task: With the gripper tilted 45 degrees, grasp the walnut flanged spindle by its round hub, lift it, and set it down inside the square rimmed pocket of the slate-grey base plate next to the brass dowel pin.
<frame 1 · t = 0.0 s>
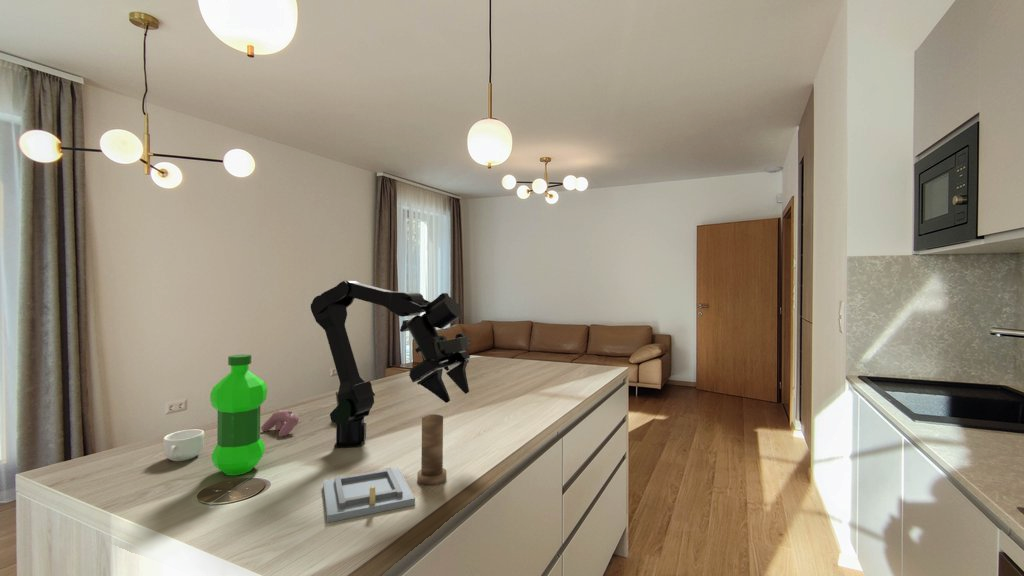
hand: (458, 397, 103), 15 cm above the counter, tool tilted 35°, fingers open, 9 cm apart
teacup: (181, 460, 103), on the counter
plastic bottle: (238, 471, 97), on the counter
base plate: (367, 495, 86), on the counter
flanged spindle: (431, 479, 93), on the counter
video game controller: (280, 433, 122), on the counter
cup: (348, 417, 137), on the counter
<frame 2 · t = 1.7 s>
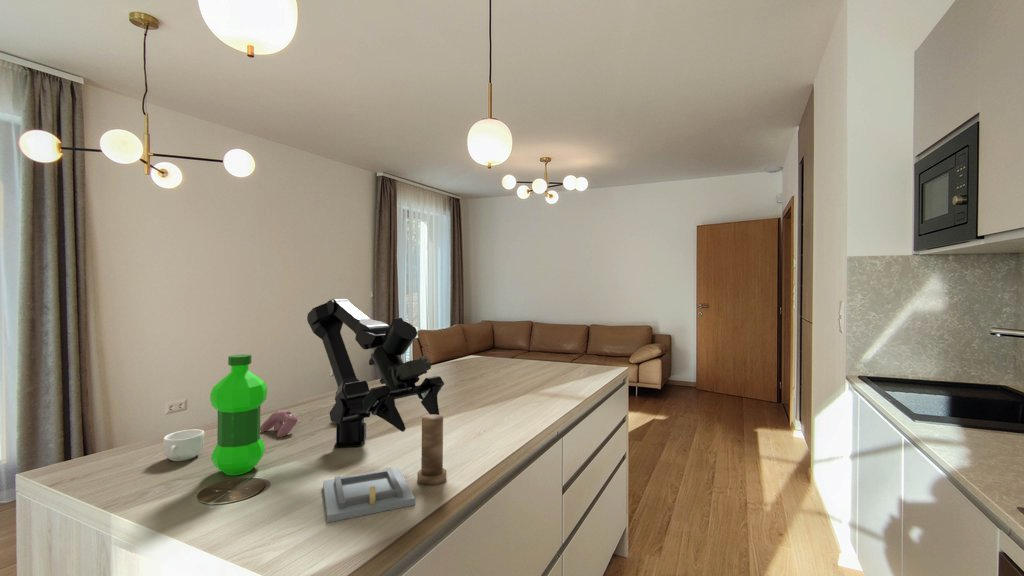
hand: (421, 425, 95), 11 cm above the counter, tool tilted 45°, fingers open, 9 cm apart
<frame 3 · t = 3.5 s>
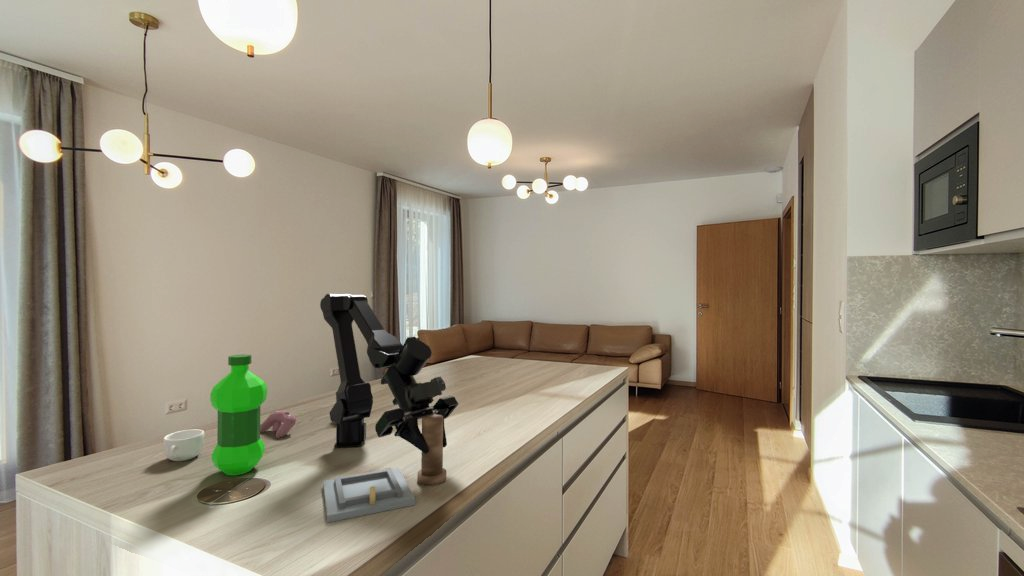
hand: (436, 449, 92), 7 cm above the counter, tool tilted 45°, fingers closed on flanged spindle, 4 cm apart
flanged spindle: (431, 479, 93), on the counter, touching gripper
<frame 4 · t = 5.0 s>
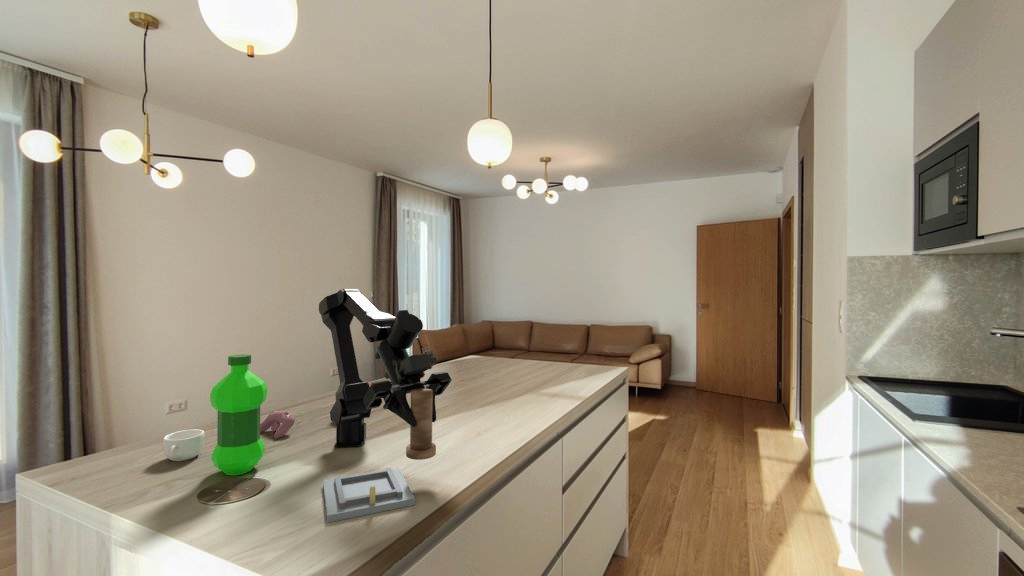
hand: (425, 423, 90), 13 cm above the counter, tool tilted 45°, fingers closed on flanged spindle, 4 cm apart
flanged spindle: (421, 454, 91), point 6 cm above the counter, touching gripper
when the fingers open (10 cm above the counter, at t = 6.8 s): flanged spindle drops 2 cm, resting on base plate.
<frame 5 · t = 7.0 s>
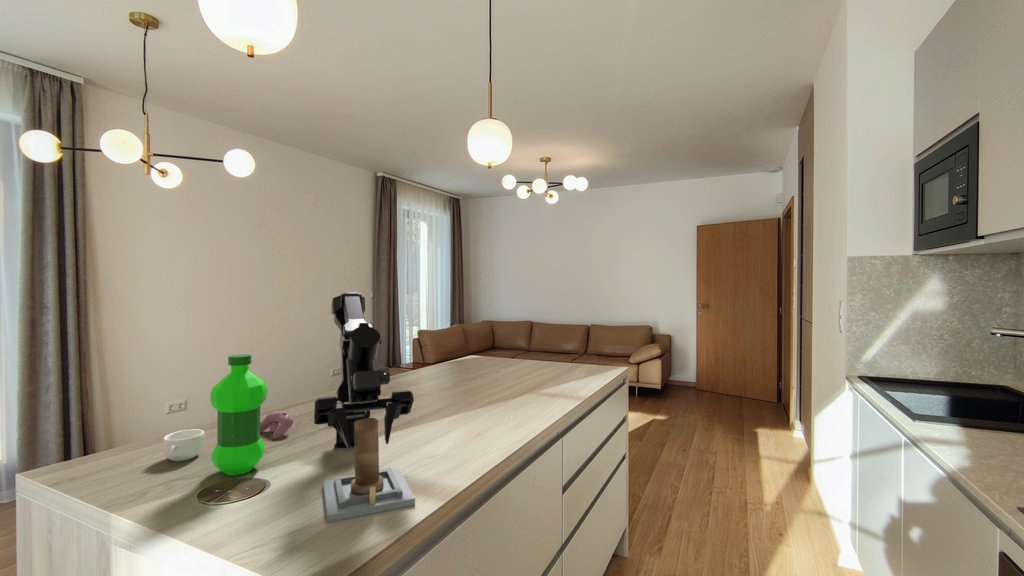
hand: (368, 445, 84), 10 cm above the counter, tool tilted 45°, fingers open, 7 cm apart
flanged spindle: (367, 488, 86), point 1 cm above the counter, touching base plate
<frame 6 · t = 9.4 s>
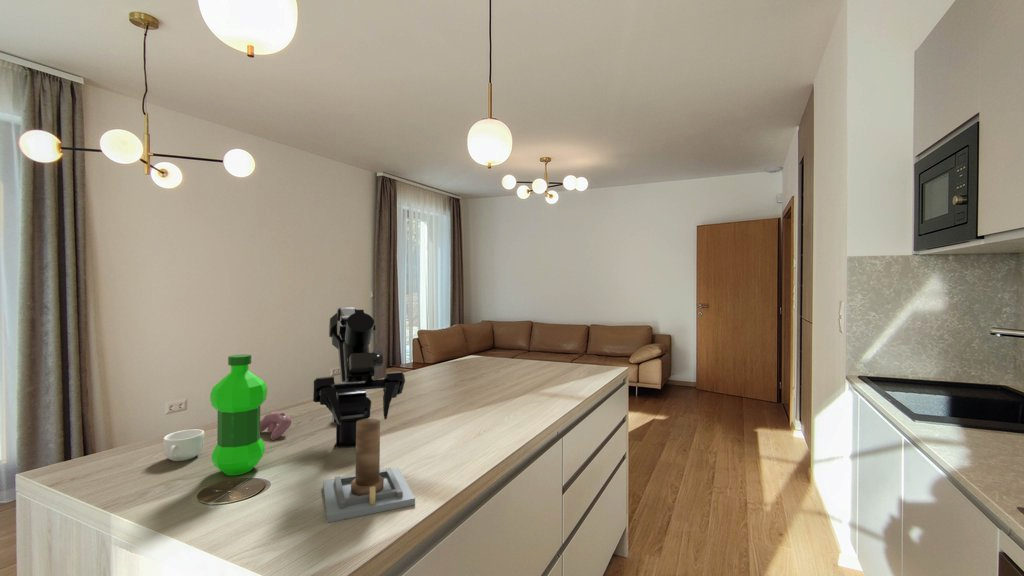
hand: (363, 421, 92), 12 cm above the counter, tool tilted 45°, fingers open, 9 cm apart
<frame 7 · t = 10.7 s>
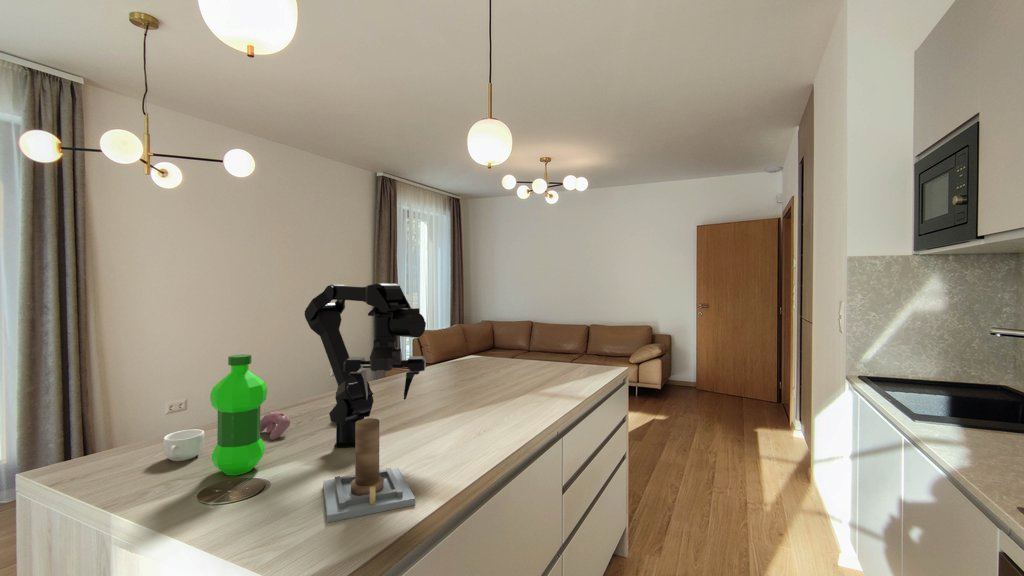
hand: (385, 399, 107), 13 cm above the counter, tool pointing down, fingers open, 9 cm apart
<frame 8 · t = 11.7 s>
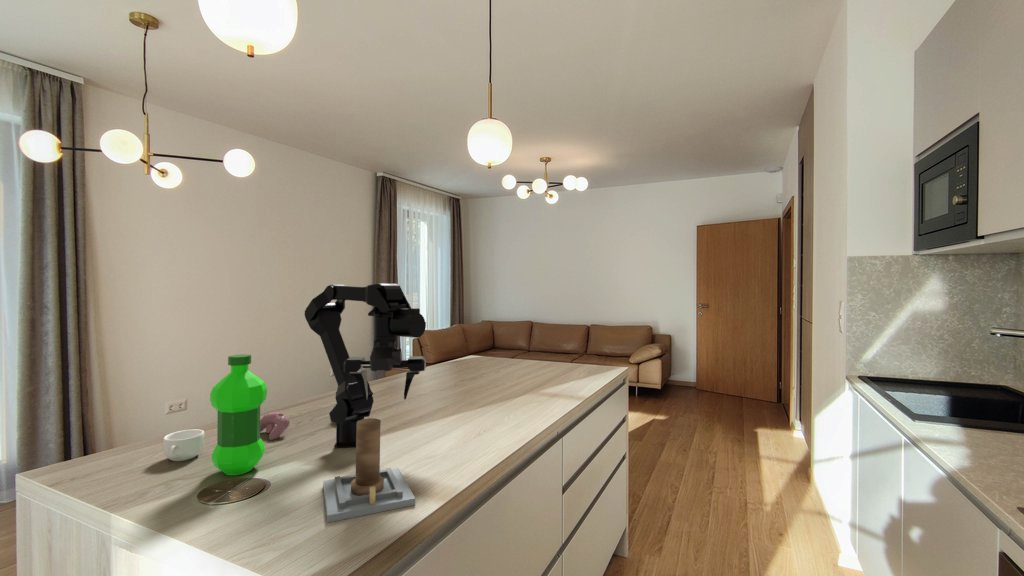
hand: (385, 399, 107), 13 cm above the counter, tool pointing down, fingers open, 9 cm apart
at the end: flanged spindle 0.1 cm off-centre on the base plate, point 1.2 cm above the base plate's base; flanged spindle tilted 1°; the gripper is holding nothing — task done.
